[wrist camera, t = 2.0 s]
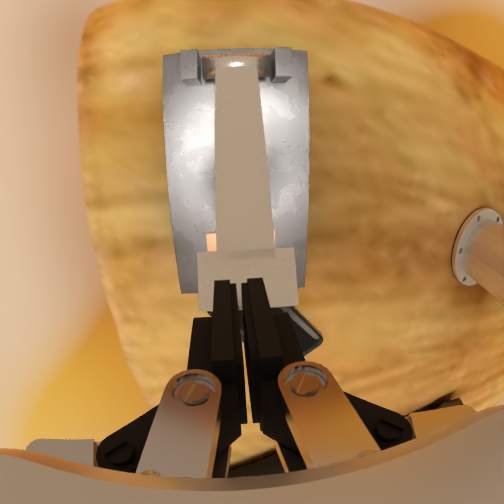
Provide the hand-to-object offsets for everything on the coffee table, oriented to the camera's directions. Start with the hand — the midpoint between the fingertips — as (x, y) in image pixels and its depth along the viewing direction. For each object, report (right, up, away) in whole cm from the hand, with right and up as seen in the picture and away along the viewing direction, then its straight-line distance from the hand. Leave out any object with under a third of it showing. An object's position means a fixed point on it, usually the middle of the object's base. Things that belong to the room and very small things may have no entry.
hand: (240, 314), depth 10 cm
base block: (-1, +11, +18) cm, 21 cm away
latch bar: (0, +8, +8) cm, 11 cm away
